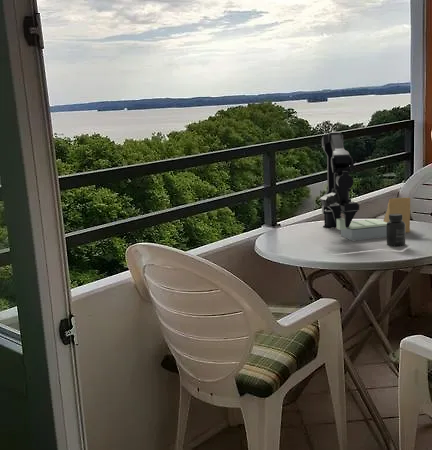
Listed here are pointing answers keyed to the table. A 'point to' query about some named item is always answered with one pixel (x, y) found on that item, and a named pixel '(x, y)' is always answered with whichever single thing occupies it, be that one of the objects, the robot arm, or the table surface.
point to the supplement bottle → (395, 231)
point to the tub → (364, 233)
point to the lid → (359, 224)
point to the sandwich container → (399, 210)
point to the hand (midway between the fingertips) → (341, 225)
